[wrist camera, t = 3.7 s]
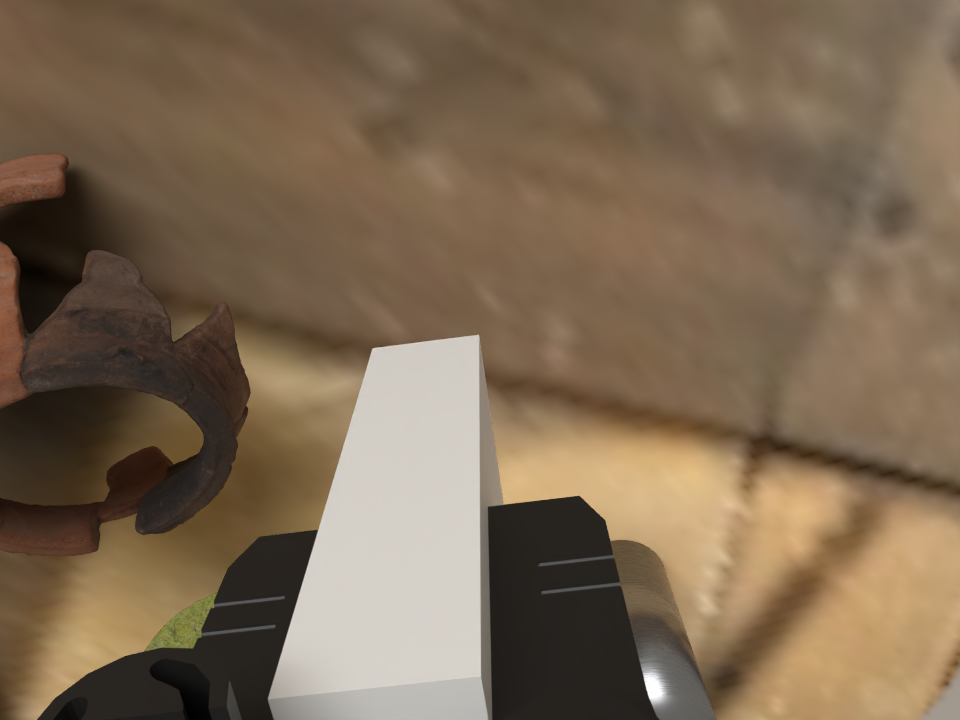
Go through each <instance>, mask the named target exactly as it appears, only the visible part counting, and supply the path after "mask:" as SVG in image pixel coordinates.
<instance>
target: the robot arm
mask: <svg viewBox="0 0 960 720" xmlns="http://www.w3.org/2000/svg"><path fill="white" fill-rule="evenodd" d="M37 720H660V719H659V718H658V717H657V716H656V713H655V711H654V708H653V706H652V704H651V701H650V699H649V696H648V693H647V689H646V685H645V681H644V676H643V672H642V668H641V664H640V660H639V656H638V652H637V648H636V644H635V640H634V636H633V632H632V628H631V624H630V619H629V615H628V611H627V607H626V603H625V599H624V595H623V591H622V587H621V585H620V579H619V575H618V571H617V567H616V562H615V559H614V556H613V550H612V546H611V542H610V538H609V534H608V530H607V526H606V522H605V520H604V519H603V518H602V517H601V516H600V515H599V514H598V513H597V512H596V511H595V510H594V509H593V508H592V507H590V506H589V505H588V504H587V503H586V502H585V501H584V500H583V499H582V498H581V497H580V496H574V497H566V498H557V499H549V500H540V501H532V502H523V503H515V504H506V505H503V497H502V490H501V483H500V476H499V469H498V462H497V455H496V449H495V442H494V435H493V428H492V421H491V414H490V407H489V400H488V393H487V386H486V380H485V373H484V366H483V359H482V352H481V345H480V338H479V335H474V336H466V337H458V338H450V339H442V340H434V341H426V342H419V343H411V344H403V345H395V346H387V347H379V348H373V349H372V352H371V356H370V359H369V362H368V366H367V369H366V372H365V376H364V379H363V382H362V386H361V389H360V392H359V396H358V399H357V403H356V406H355V409H354V413H353V416H352V419H351V423H350V426H349V429H348V433H347V436H346V439H345V443H344V446H343V449H342V453H341V456H340V459H339V463H338V466H337V469H336V473H335V476H334V479H333V483H332V486H331V489H330V493H329V496H328V499H327V503H326V506H325V510H324V513H323V516H322V520H321V523H320V526H319V530H313V531H304V532H296V533H287V534H279V535H270V536H262V537H259V538H258V539H257V540H256V541H255V542H254V543H253V544H252V545H251V546H250V547H249V548H248V549H247V550H246V551H245V552H244V553H243V554H242V555H241V556H240V557H239V558H238V559H237V560H236V561H235V562H234V563H233V564H232V565H231V566H230V567H229V568H228V570H227V572H226V574H225V577H224V579H223V581H222V583H221V586H220V588H219V590H218V593H217V595H216V597H215V599H214V608H211V609H210V611H209V613H208V615H207V618H206V620H205V622H204V625H203V627H202V629H201V638H197V641H196V643H195V645H194V647H193V648H157V649H153V650H149V651H145V652H141V653H136V654H132V655H128V656H124V657H122V658H120V659H118V660H116V661H114V662H112V663H110V664H108V665H105V666H103V667H101V668H99V669H97V670H95V671H93V672H91V673H88V674H87V675H86V676H84V677H83V678H82V679H80V680H79V681H78V682H76V683H75V684H74V685H72V686H71V687H70V688H68V689H67V690H66V691H64V692H63V693H62V694H60V695H59V696H58V697H56V698H55V699H54V700H53V701H52V702H51V704H50V705H49V706H48V707H47V708H46V710H45V711H44V712H43V713H42V714H41V716H40V717H39V718H38V719H37Z"/></svg>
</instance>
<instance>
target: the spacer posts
mask: <svg viewBox="0 0 960 720" xmlns="http://www.w3.org/2000/svg"><path fill="white" fill-rule="evenodd" d="M610 542H611V546H612V550H613V556H614V559H615V562H616V567H617V571H618V575H619V579H620V585H621V587H622V591H623V595H624V599H625V603H626V607H627V611H628V615H629V619H630V624H631V628H632V632H633V636H634V640H635V644H636V648H637V652H638V656H639V660H640V664H641V668H642V672H643V676H644V681H645V685H646V689H647V693H648V696H649V699H650V701H651V704H652V706H653V708H654V711H655V713H656V716H657V717H658V718H659V719H660V720H716V718H715V715H714V712H713V709H712V706H711V703H710V700H709V697H708V695H707V692H706V689H705V686H704V683H703V680H702V677H701V674H700V671H699V668H698V665H697V663H696V660H695V657H694V654H693V651H692V648H691V645H690V642H689V639H688V636H687V633H686V630H685V628H684V625H683V622H682V619H681V616H680V613H679V610H678V607H677V604H676V601H675V598H674V596H673V593H672V590H671V587H670V584H669V581H668V578H667V575H666V572H665V569H664V566H663V564H662V562H661V560H660V558H659V557H658V555H657V554H656V553H655V552H654V551H652V550H651V549H650V548H648V547H647V546H645V545H643V544H640V543H637V542H634V541H628V540H616V541H610Z"/></svg>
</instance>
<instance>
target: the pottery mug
mask: <svg viewBox="0 0 960 720" xmlns="http://www.w3.org/2000/svg"><path fill="white" fill-rule="evenodd" d="M68 165H69V162H68V158H67V157H66V156H64V155H61V154H57V153H53V154H37V155H30V156H25V157H21V158H17V159H12V160H9V161H6V162H4V163H1V164H0V208H2V207H5V206H8V205H14V204H19V203H23V202H31V201H37V200H45V199H54V198H59V197H61V196H63V194H64V193H65V173H66V171H67V168H68ZM19 281H20V265H19V261H18V259H17V257H16V256H14V255H13V253H12V251H11V249H10V248H9V247H8V246H7V245H5V244H4V243H2V242H1V241H0V409H2V408H4V407H6V406H8V405H10V404H12V403H14V402H17V401H19V400H22V399H24V398H26V397H28V396H30V395H31V394H33V393H36V392H47V391H54V390H60V389H66V388H74V387H83V386H104V387H115V388H121V389H129V390H136V391H140V392H145V393H148V394H153V395H156V396H158V397H160V398H162V399H165V400H168V401H171V402H173V403H175V404H176V405H177V406H178V407H180V408H181V409H182V410H184V411H185V412H187V413H188V414H189V416H190V417H191V418H192V419H193V420H194V421H195V422H196V423H197V424H198V426H199V427H200V428H201V430H202V432H203V435H204V443H203V446H202V448H201V450H200V452H199V453H198V454H197V455H194V456H192V457H190V458H188V459H187V460H184V461H182V462H179V463H177V464H175V465H173V463H172V462H171V461H170V460H169V459H168V458H167V457H166V456H165V455H164V454H163V453H162V451H161V450H160V449H158V448H157V447H155V446H152V447H148V448H144V449H142V450H140V451H138V452H136V453H134V454H131V455H129V456H128V457H126V458H125V459H123V460H121V461H119V462H117V463H116V464H114V465H113V466H112V467H110V468H109V470H108V471H107V477H106V482H107V484H108V486H109V488H110V491H109V493H108V496H107V498H106V500H105V501H104V502H95V503H91V504H85V505H70V506H41V505H28V504H24V503H19V502H15V501H11V500H6V499H2V498H0V550H2V551H7V552H11V553H25V554H28V555H41V556H74V555H82V554H87V553H92V552H95V551H97V550H98V547H99V541H100V531H99V528H100V525H101V523H104V522H108V521H112V520H118V519H121V518H125V517H128V516H131V515H133V514H136V513H137V516H136V523H135V529H136V531H137V532H138V533H140V534H142V535H146V534H160V533H165V532H168V531H170V530H172V529H174V528H175V527H177V526H178V525H180V524H183V523H184V522H185V521H187V520H188V519H190V518H192V517H193V516H194V515H195V514H196V513H197V512H198V511H200V510H201V509H202V508H204V507H205V506H206V505H207V504H209V503H210V502H211V501H212V499H213V498H214V497H215V496H216V495H217V494H218V493H219V491H220V490H221V489H222V488H223V486H224V484H225V482H226V481H227V479H228V477H229V475H230V472H231V470H232V465H231V464H232V463H233V461H234V460H235V456H236V450H237V447H238V444H237V439H236V437H237V436H238V434H239V432H240V430H241V428H242V426H243V424H244V422H245V419H246V417H247V413H248V408H247V406H246V404H247V402H248V399H249V397H250V387H249V381H248V378H247V376H246V374H245V371H244V368H243V367H242V364H241V361H240V357H239V353H238V349H237V343H236V341H235V336H234V335H235V330H234V325H233V321H232V318H231V314H230V311H229V308H228V305H227V304H226V303H224V302H221V303H219V304H217V305H216V306H215V308H214V310H213V312H212V314H211V315H210V316H209V317H208V318H207V319H206V320H205V321H204V322H203V323H202V324H200V325H198V326H196V327H195V328H194V329H192V330H191V331H190V332H188V333H187V334H185V335H184V336H183V337H182V338H180V339H178V340H177V341H175V342H173V341H172V337H171V323H170V318H169V316H168V314H167V313H166V311H165V309H164V306H163V304H162V303H161V301H160V300H159V299H158V298H157V296H156V295H155V294H154V293H153V292H152V291H151V290H150V289H149V288H148V287H147V286H146V285H145V284H144V282H143V279H142V276H141V273H140V271H139V269H138V267H137V266H136V265H135V264H134V263H133V262H132V261H130V260H129V259H126V258H124V257H121V256H118V255H115V254H112V253H110V252H107V251H104V250H92V251H90V252H89V253H88V254H87V256H86V260H85V266H84V270H83V273H82V282H81V283H80V284H79V285H77V286H76V287H74V288H73V289H72V290H71V291H70V292H69V293H68V294H67V295H66V296H65V298H64V299H63V301H62V302H61V303H60V305H59V306H58V308H57V309H56V310H55V311H54V312H53V313H52V314H51V315H50V316H49V318H48V319H46V320H45V321H44V322H43V323H42V324H41V325H40V326H39V327H38V329H37V330H35V331H34V332H33V333H32V334H29V333H28V331H27V329H26V327H25V324H24V322H23V318H22V313H21V309H20V301H19Z"/></svg>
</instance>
